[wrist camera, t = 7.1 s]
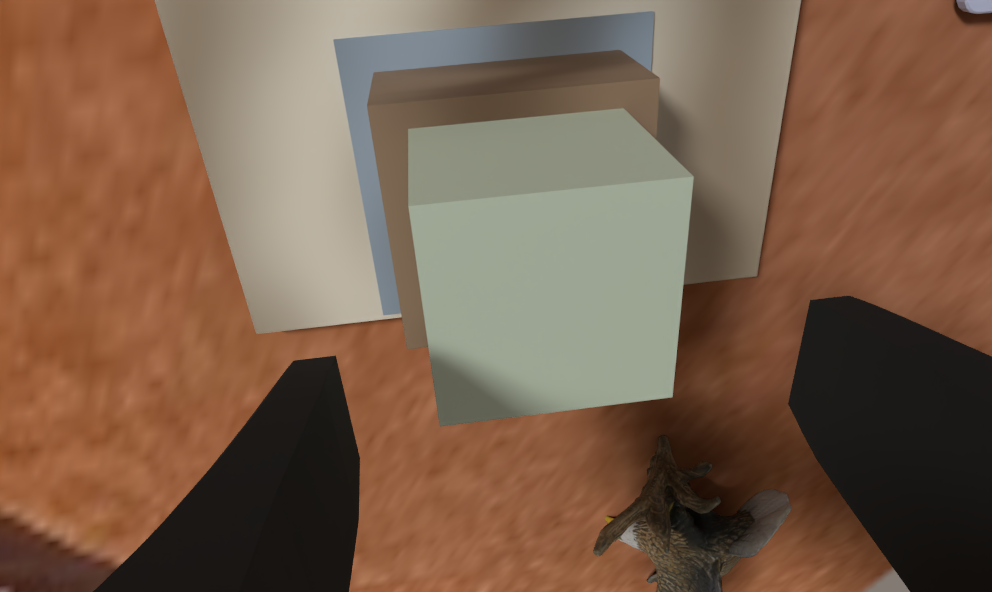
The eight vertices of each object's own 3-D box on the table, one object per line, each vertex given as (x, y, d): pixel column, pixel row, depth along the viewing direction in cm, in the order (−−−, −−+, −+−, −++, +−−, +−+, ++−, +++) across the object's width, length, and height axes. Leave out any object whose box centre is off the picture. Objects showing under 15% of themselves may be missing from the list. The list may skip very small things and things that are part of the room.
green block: (616, 292, 16) (672, 397, 13) (433, 313, 16) (439, 426, 13) (623, 108, 14) (693, 176, 10) (408, 128, 14) (408, 206, 10)
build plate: (816, -214, 15) (838, -219, 14) (745, 264, 21) (758, 277, 20) (118, -167, 14) (100, -170, 13) (261, 319, 20) (255, 335, 19)
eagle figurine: (515, 500, 24) (582, 672, 27) (672, 600, 18) (734, 806, 21) (655, 389, 27) (700, 553, 30) (825, 442, 21) (858, 639, 24)
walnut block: (620, 50, 16) (660, 77, 14) (613, 265, 19) (645, 321, 17) (373, 72, 16) (367, 106, 13) (406, 288, 19) (407, 349, 16)
